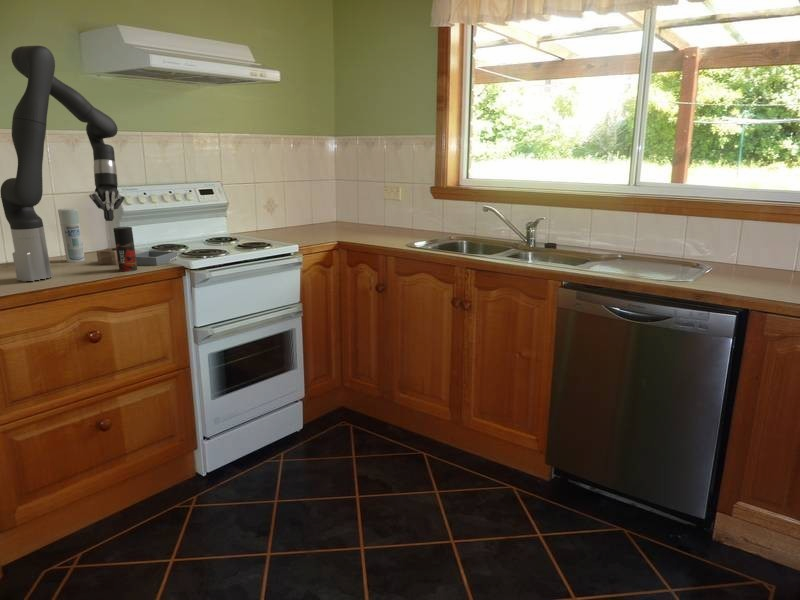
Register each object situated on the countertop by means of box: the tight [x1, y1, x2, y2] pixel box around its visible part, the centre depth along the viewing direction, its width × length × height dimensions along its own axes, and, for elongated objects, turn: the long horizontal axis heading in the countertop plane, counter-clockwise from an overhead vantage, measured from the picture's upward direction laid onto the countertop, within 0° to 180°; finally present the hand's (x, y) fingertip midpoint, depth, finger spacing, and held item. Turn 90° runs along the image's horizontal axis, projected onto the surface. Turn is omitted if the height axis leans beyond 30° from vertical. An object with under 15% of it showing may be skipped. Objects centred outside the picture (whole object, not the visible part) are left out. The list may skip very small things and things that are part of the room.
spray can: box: [57, 207, 86, 263], centre depth 226 cm, size 6×6×20 cm
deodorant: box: [112, 226, 138, 273], centre depth 208 cm, size 6×6×15 cm
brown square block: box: [96, 246, 119, 266], centre depth 223 cm, size 8×8×5 cm
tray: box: [135, 250, 178, 267], centre depth 224 cm, size 13×13×3 cm
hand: (109, 220), depth 217 cm, fingers closed
